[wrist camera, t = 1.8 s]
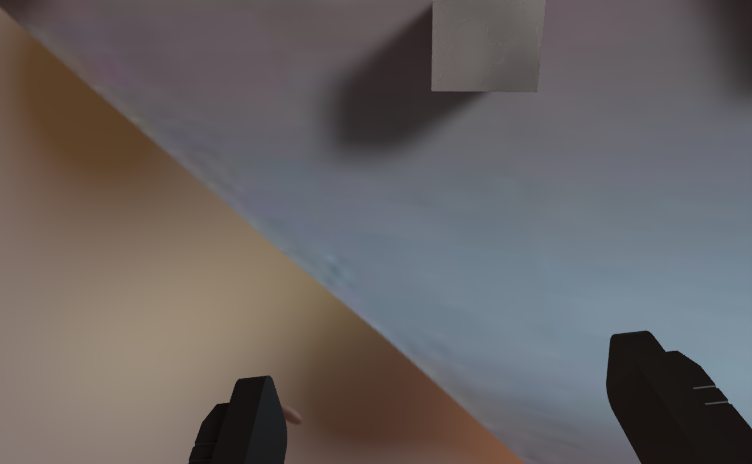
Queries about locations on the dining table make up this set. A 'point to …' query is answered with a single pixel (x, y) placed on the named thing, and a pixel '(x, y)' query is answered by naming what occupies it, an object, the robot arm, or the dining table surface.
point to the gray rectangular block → (486, 45)
